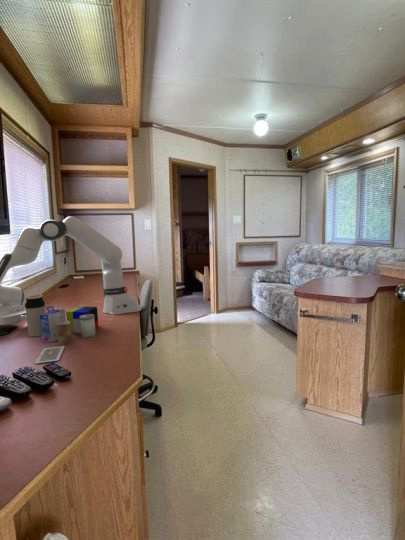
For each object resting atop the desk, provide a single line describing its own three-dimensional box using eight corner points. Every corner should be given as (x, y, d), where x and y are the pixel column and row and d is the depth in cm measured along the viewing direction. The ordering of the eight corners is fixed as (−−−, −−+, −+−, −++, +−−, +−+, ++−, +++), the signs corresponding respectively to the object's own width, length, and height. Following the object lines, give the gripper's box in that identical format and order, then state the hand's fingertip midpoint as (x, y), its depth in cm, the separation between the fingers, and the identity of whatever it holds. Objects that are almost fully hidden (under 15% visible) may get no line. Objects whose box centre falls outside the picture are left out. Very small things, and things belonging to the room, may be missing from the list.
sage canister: (97, 332, 144) (95, 313, 143) (94, 336, 138) (93, 317, 137) (82, 333, 143) (80, 314, 142) (79, 338, 137) (77, 318, 136)
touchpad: (65, 348, 127) (64, 343, 126) (59, 363, 112) (58, 357, 112) (43, 351, 125) (43, 345, 124) (35, 366, 110) (34, 360, 110)
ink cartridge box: (58, 334, 144) (55, 303, 142) (68, 335, 142) (65, 304, 140) (41, 341, 134) (38, 309, 133) (51, 342, 133) (48, 309, 131)
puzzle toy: (87, 333, 144) (85, 312, 143) (68, 332, 146) (66, 311, 145) (98, 326, 154) (96, 306, 152) (80, 326, 156) (78, 306, 154)
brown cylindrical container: (72, 340, 135) (70, 320, 134) (71, 344, 130) (69, 323, 129) (59, 342, 133) (57, 321, 132) (58, 346, 128) (56, 325, 127)
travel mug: (51, 332, 146) (47, 295, 144) (34, 337, 140) (30, 298, 138) (41, 330, 151) (37, 293, 148) (25, 335, 144) (20, 297, 142)
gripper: (-9, 312, 146) (5, 316, 139) (34, 303, 163) (49, 306, 155) (-8, 325, 147) (6, 330, 139) (35, 315, 164) (50, 318, 156)
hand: (29, 317), depth 148 cm, fingers closed
